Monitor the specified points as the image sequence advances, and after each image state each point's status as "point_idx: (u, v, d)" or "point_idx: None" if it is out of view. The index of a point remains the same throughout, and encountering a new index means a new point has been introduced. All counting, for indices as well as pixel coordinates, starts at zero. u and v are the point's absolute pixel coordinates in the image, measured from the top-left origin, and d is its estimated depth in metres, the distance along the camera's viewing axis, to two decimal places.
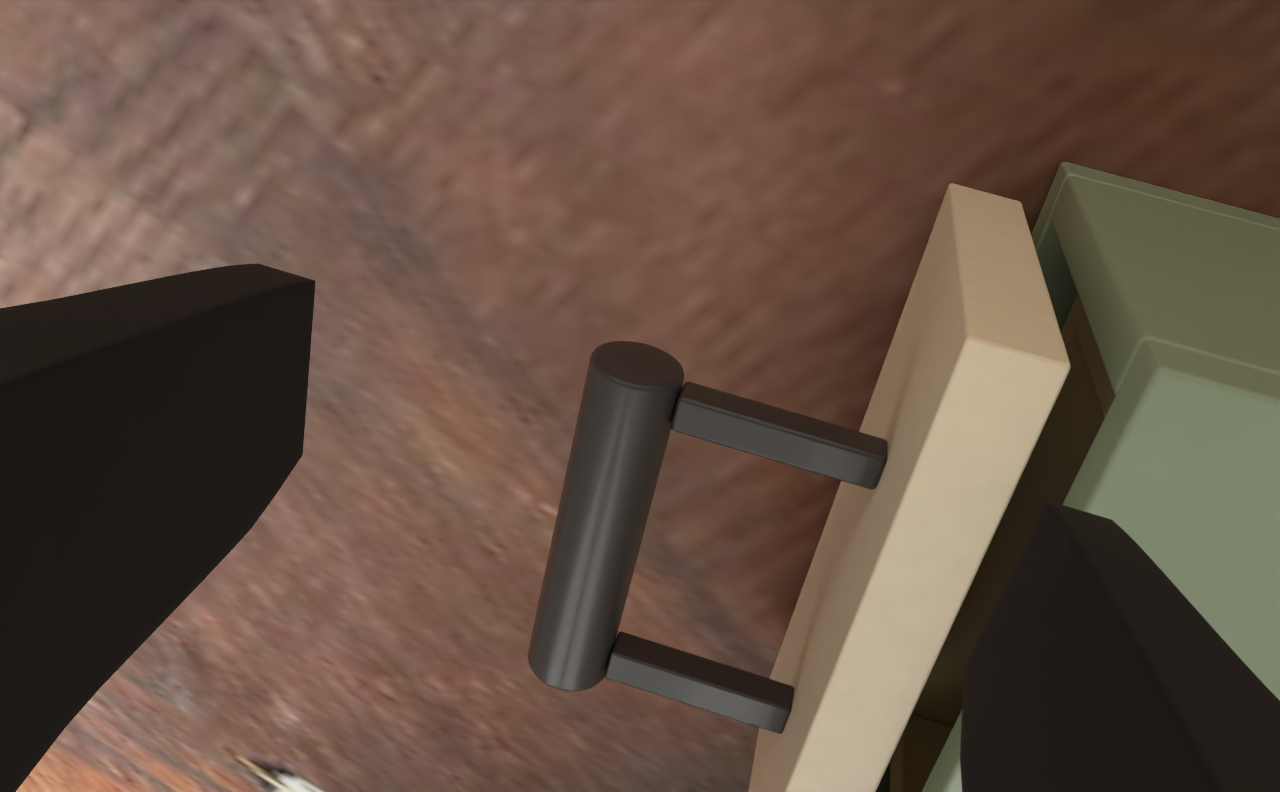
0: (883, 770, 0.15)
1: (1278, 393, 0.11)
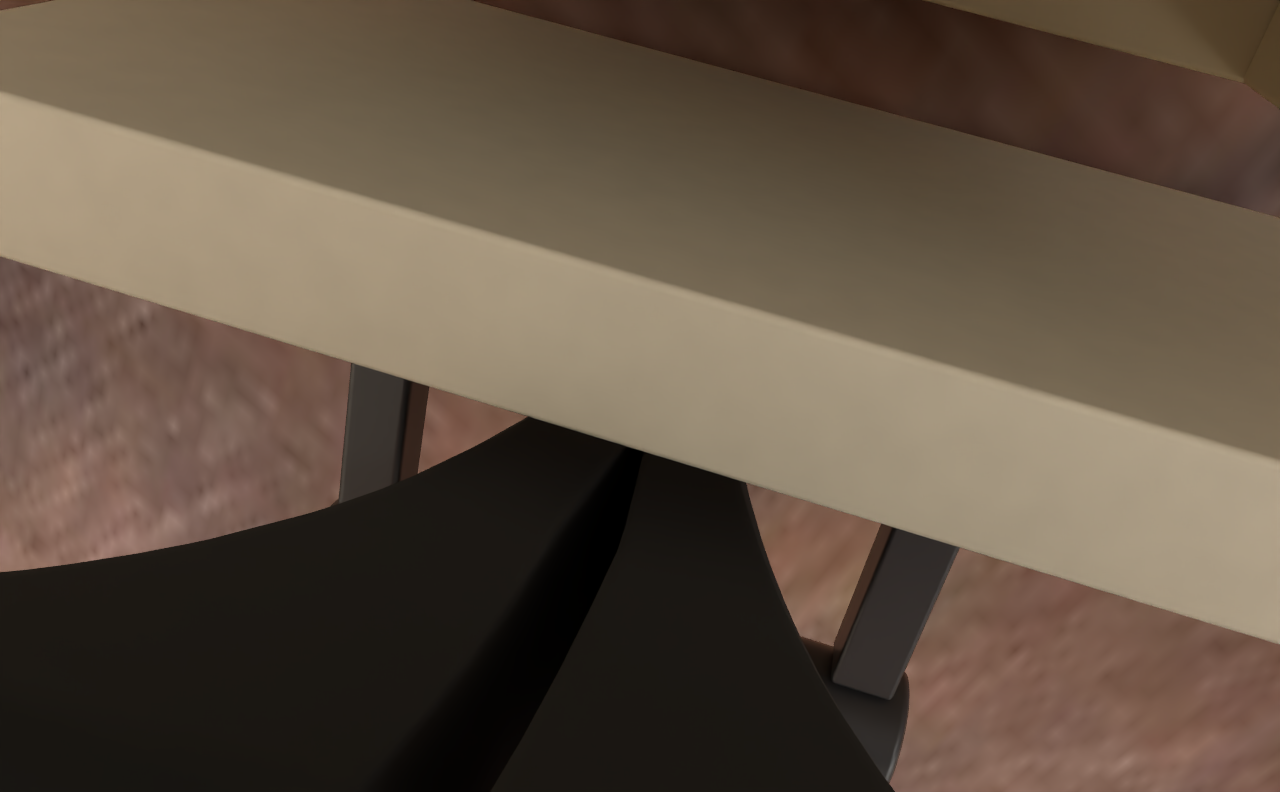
0: (808, 329, 0.07)
1: None
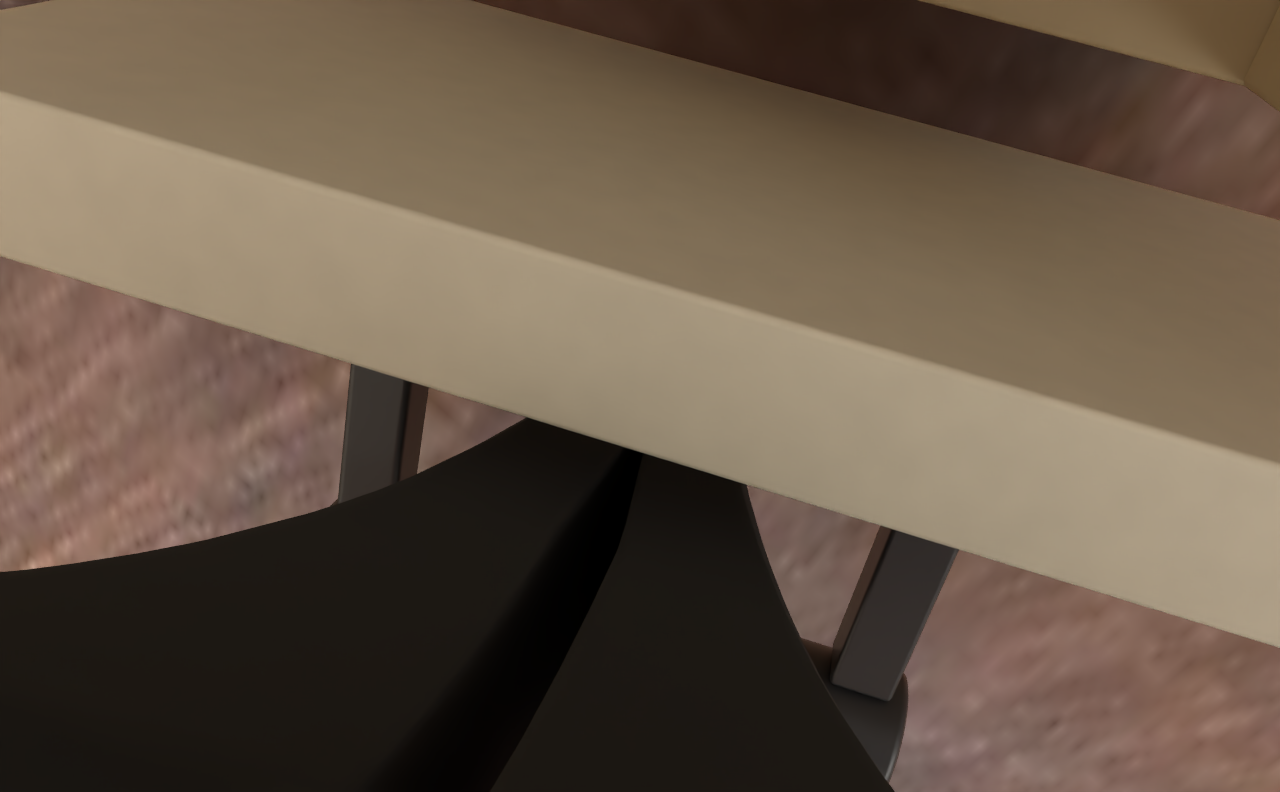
0: (808, 331, 0.07)
1: None
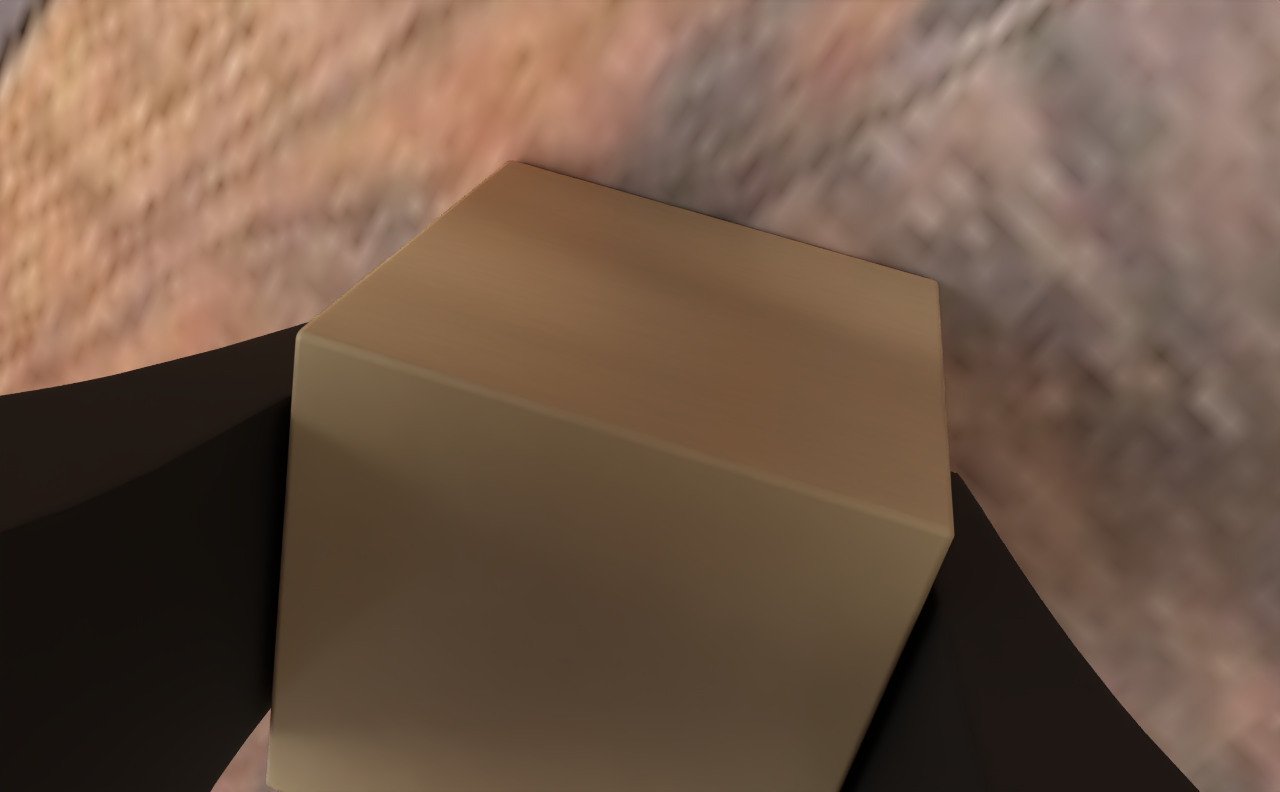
0: None
1: None
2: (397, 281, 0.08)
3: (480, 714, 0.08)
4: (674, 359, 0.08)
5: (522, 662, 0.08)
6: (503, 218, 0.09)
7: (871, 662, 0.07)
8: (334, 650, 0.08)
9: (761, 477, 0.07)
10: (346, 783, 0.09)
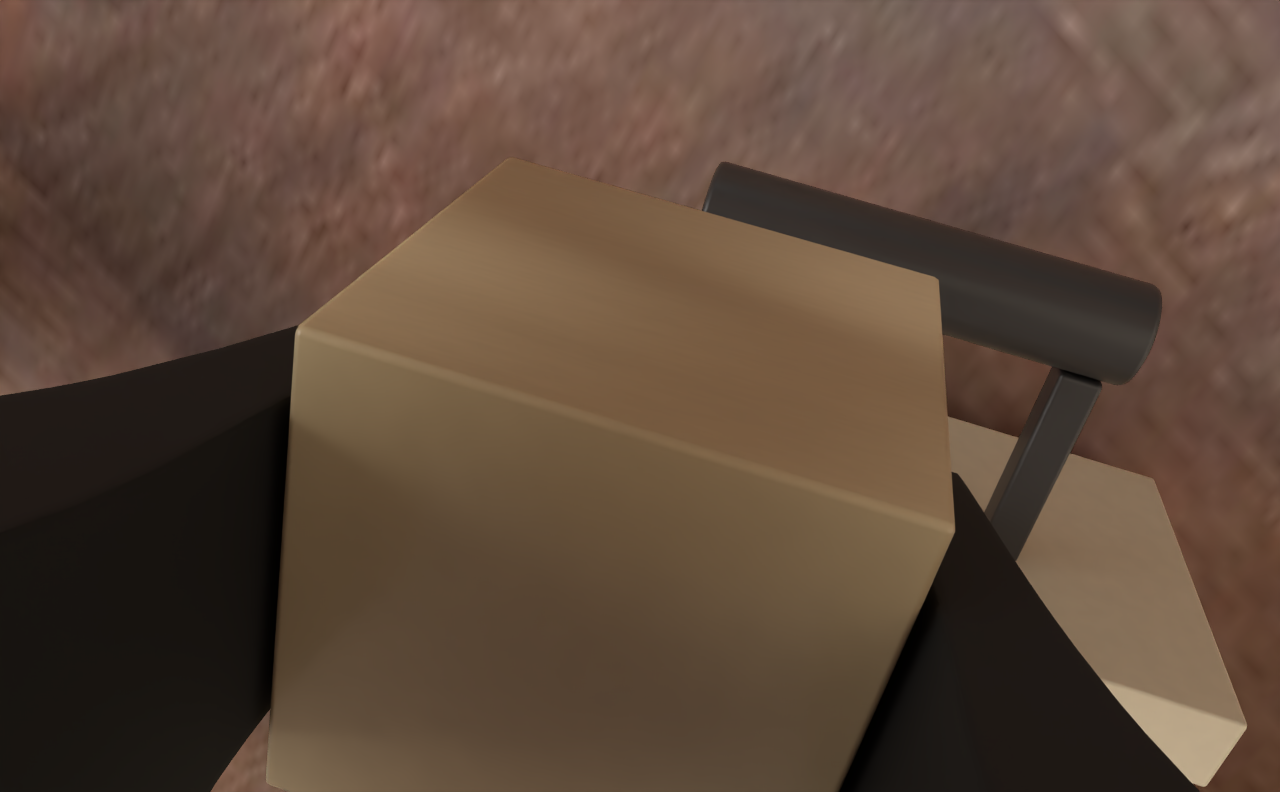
0: None
1: None
2: (396, 277, 0.08)
3: (482, 709, 0.08)
4: (674, 355, 0.08)
5: (522, 659, 0.08)
6: (503, 216, 0.09)
7: (872, 660, 0.07)
8: (333, 647, 0.08)
9: (762, 471, 0.07)
10: (346, 780, 0.09)
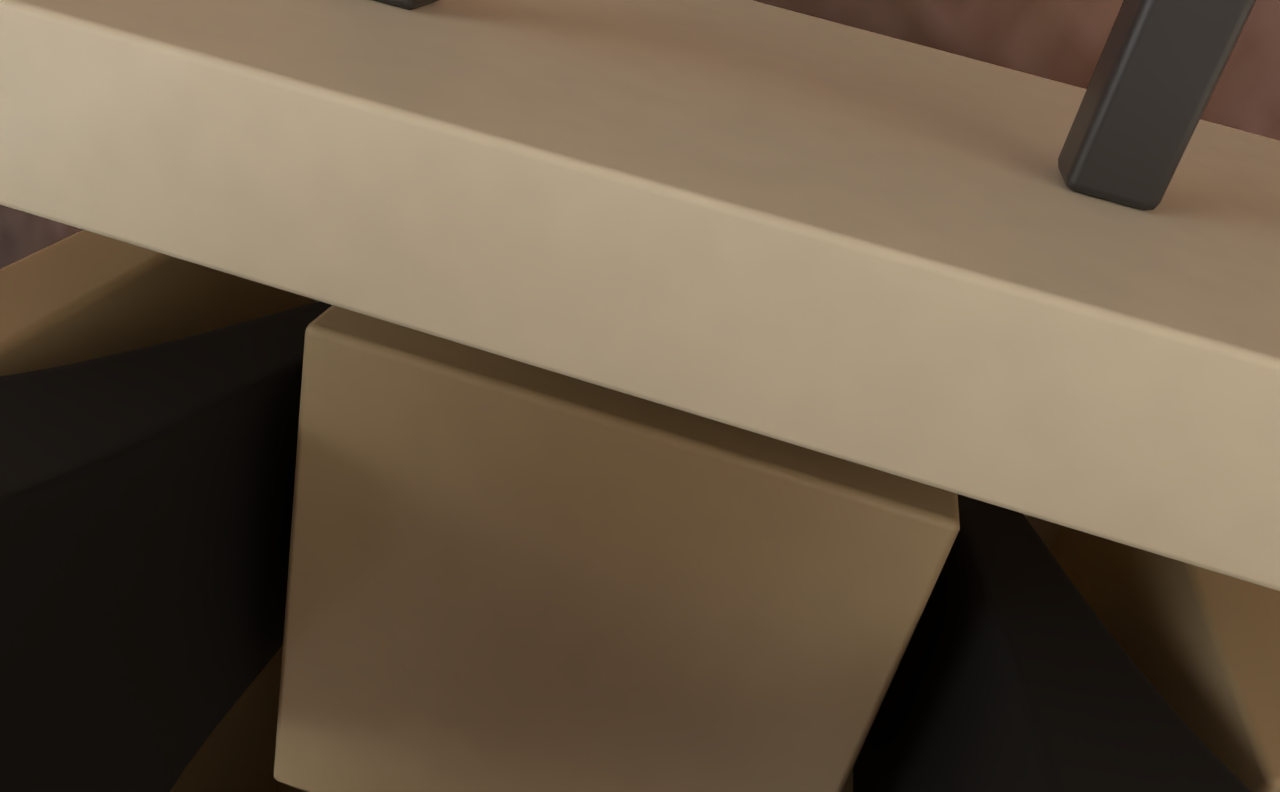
0: (461, 339, 0.06)
1: None
2: None
3: (488, 705, 0.08)
4: None
5: (528, 656, 0.08)
6: None
7: (878, 655, 0.07)
8: (342, 643, 0.08)
9: (769, 470, 0.07)
10: (354, 776, 0.09)
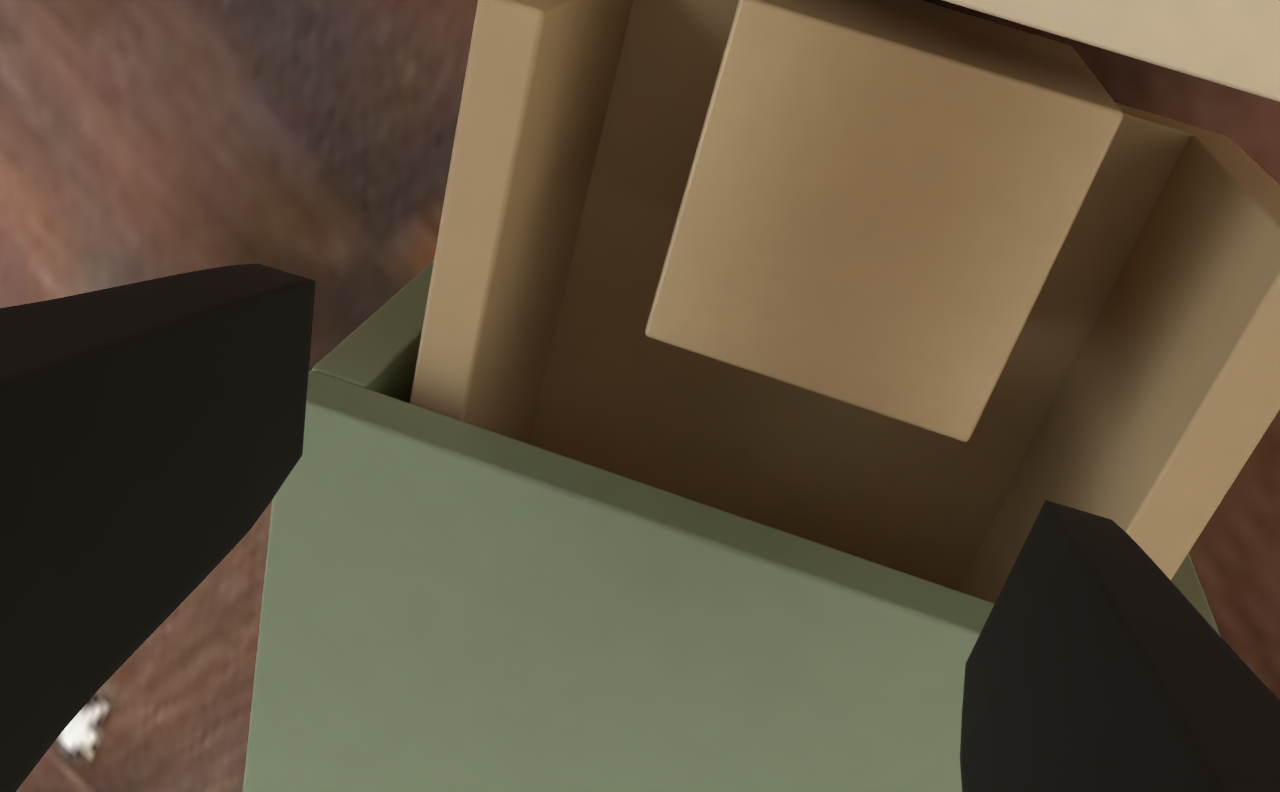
0: None
1: None
2: None
3: (807, 263, 0.13)
4: (943, 40, 0.13)
5: (842, 224, 0.13)
6: None
7: (1065, 207, 0.12)
8: (717, 223, 0.13)
9: (1014, 82, 0.12)
10: (704, 327, 0.14)
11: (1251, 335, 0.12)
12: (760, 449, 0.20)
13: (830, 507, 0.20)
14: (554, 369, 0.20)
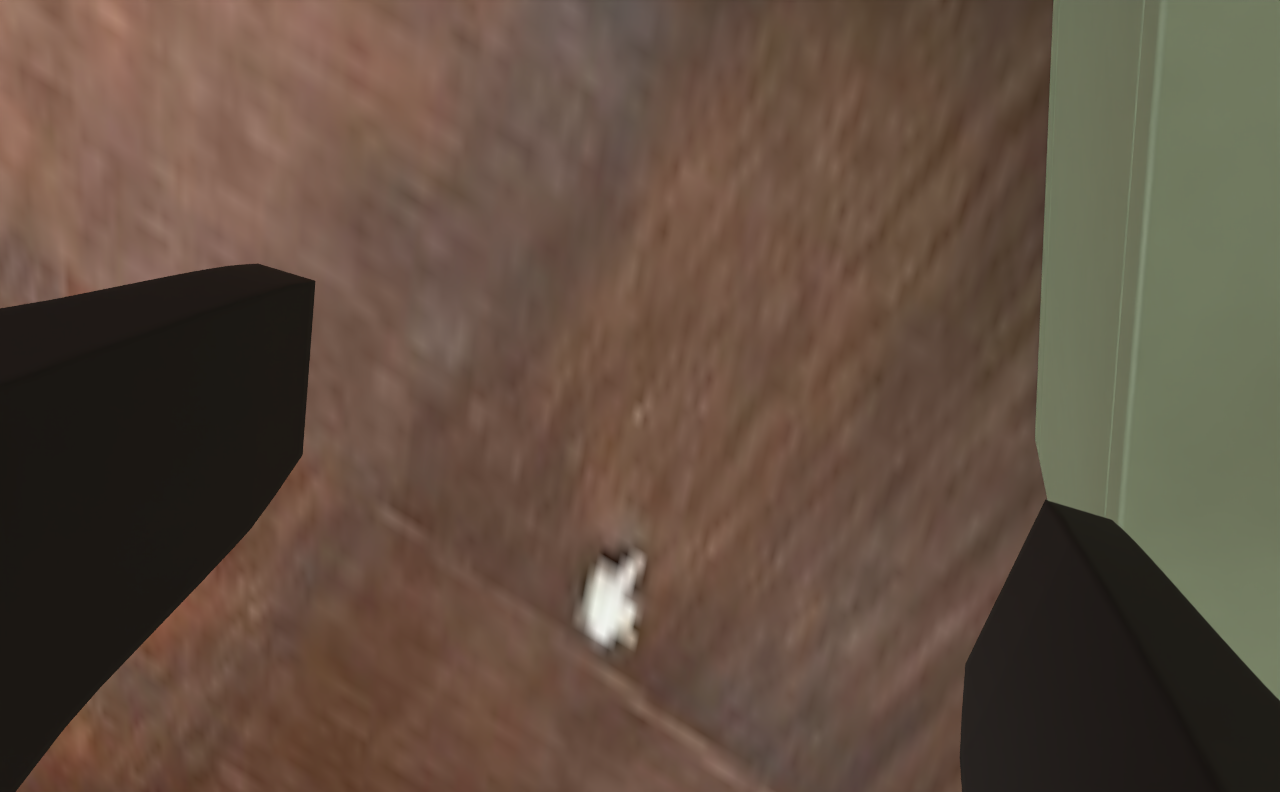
0: None
1: None
2: None
3: None
4: None
5: None
6: None
7: None
8: None
9: None
10: None
11: None
12: None
13: None
14: None
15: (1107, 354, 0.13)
